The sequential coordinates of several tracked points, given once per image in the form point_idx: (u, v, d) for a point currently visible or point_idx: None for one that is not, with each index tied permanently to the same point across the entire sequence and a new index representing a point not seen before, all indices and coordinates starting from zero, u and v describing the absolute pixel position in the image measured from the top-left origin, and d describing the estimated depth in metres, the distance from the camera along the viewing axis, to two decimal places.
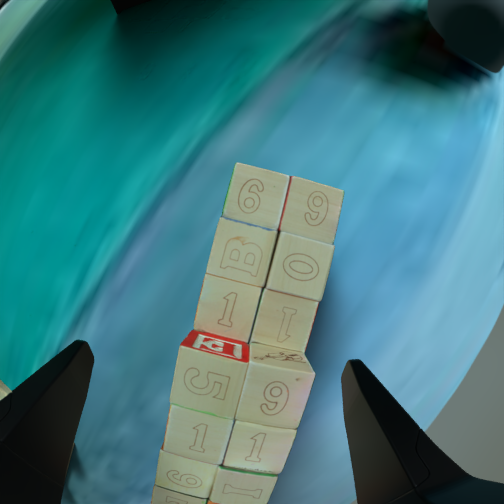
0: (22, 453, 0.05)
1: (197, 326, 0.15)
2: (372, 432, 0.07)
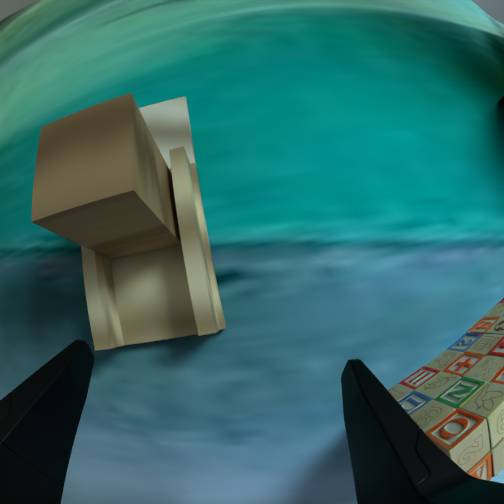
0: (22, 453, 0.05)
1: None
2: (372, 432, 0.07)
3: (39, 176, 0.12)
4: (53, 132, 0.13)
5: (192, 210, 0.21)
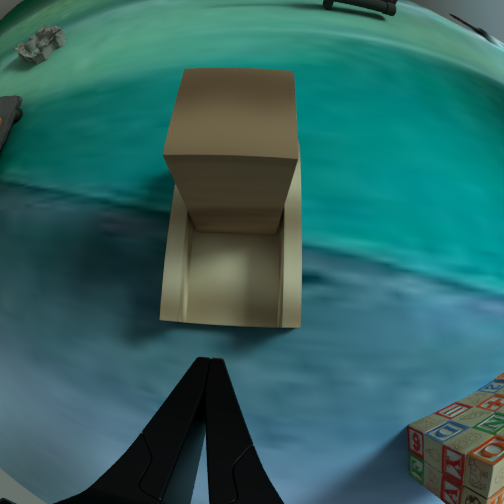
0: (171, 503, 0.05)
1: None
2: None
3: (180, 113, 0.13)
4: (201, 77, 0.14)
5: (300, 204, 0.21)
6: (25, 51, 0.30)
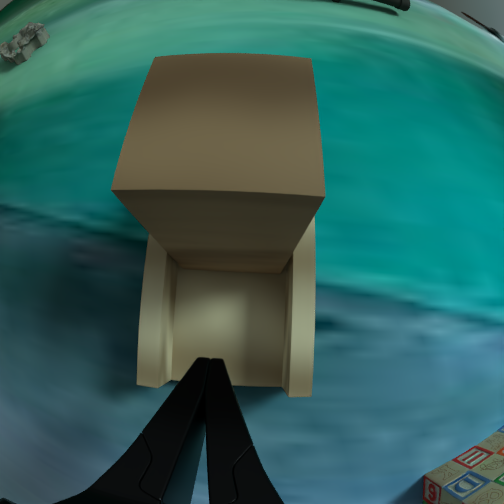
0: (171, 502, 0.05)
1: None
2: None
3: (141, 122, 0.08)
4: (177, 67, 0.09)
5: (313, 237, 0.16)
6: (6, 51, 0.25)
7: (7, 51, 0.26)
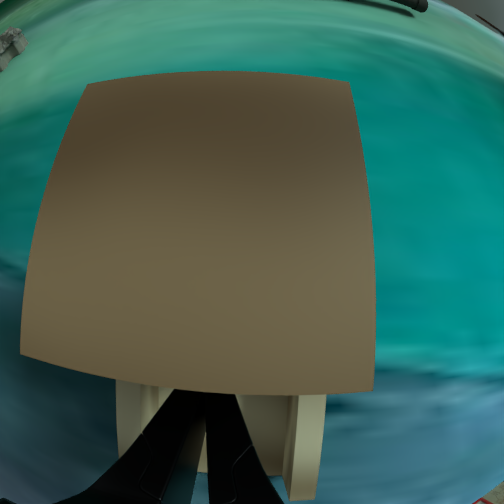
0: (171, 502, 0.05)
1: None
2: None
3: (51, 223, 0.05)
4: (116, 104, 0.05)
5: None
6: None
7: None
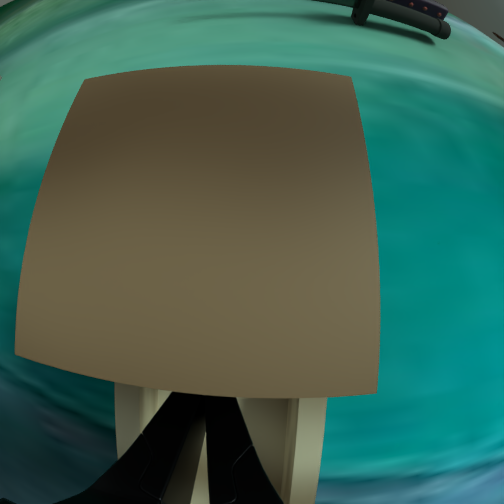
0: (171, 503, 0.05)
1: None
2: None
3: (46, 220, 0.04)
4: (113, 99, 0.05)
5: (315, 486, 0.10)
6: None
7: None
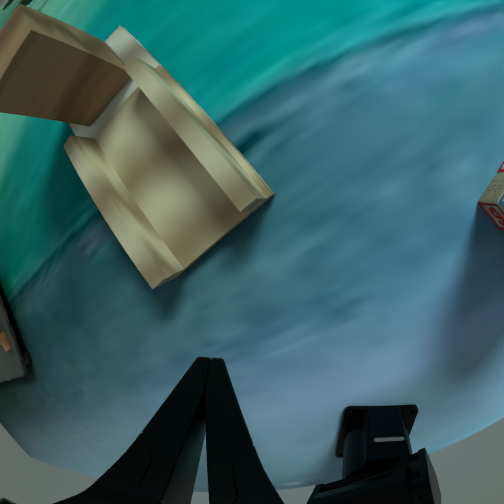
0: (171, 503, 0.05)
1: None
2: None
3: None
4: None
5: (170, 98, 0.17)
6: None
7: None
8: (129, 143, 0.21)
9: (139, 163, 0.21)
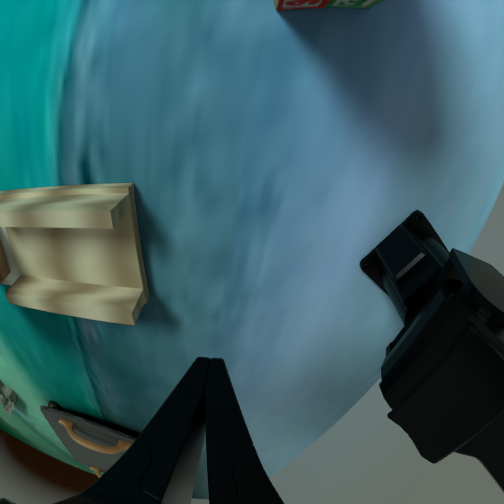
0: (171, 502, 0.05)
1: None
2: None
3: None
4: None
5: (15, 212, 0.16)
6: (9, 407, 0.39)
7: (9, 406, 0.39)
8: (36, 255, 0.21)
9: (52, 259, 0.22)
